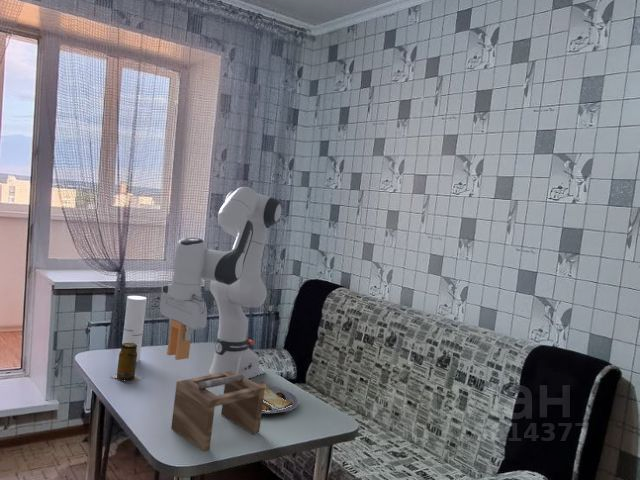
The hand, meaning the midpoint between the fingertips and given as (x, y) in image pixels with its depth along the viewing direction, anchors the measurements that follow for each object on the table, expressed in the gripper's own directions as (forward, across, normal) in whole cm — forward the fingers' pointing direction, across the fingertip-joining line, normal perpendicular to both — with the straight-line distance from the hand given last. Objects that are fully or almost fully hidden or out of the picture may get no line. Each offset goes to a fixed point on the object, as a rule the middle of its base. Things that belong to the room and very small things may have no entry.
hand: (180, 336), depth 151 cm
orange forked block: (+6, 0, 0) cm, 6 cm away
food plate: (+26, -5, -32) cm, 41 cm away
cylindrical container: (+25, +53, -14) cm, 60 cm away
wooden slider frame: (+25, -14, -6) cm, 30 cm away
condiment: (+25, +36, -4) cm, 44 cm away
